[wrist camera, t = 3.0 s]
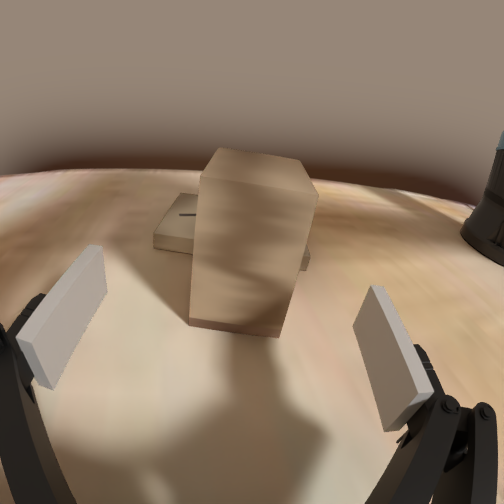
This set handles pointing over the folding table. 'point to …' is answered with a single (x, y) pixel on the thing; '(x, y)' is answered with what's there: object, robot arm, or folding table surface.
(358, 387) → the folding table surface
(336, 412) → the folding table surface
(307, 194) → the block
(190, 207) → the board
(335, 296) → the folding table surface
